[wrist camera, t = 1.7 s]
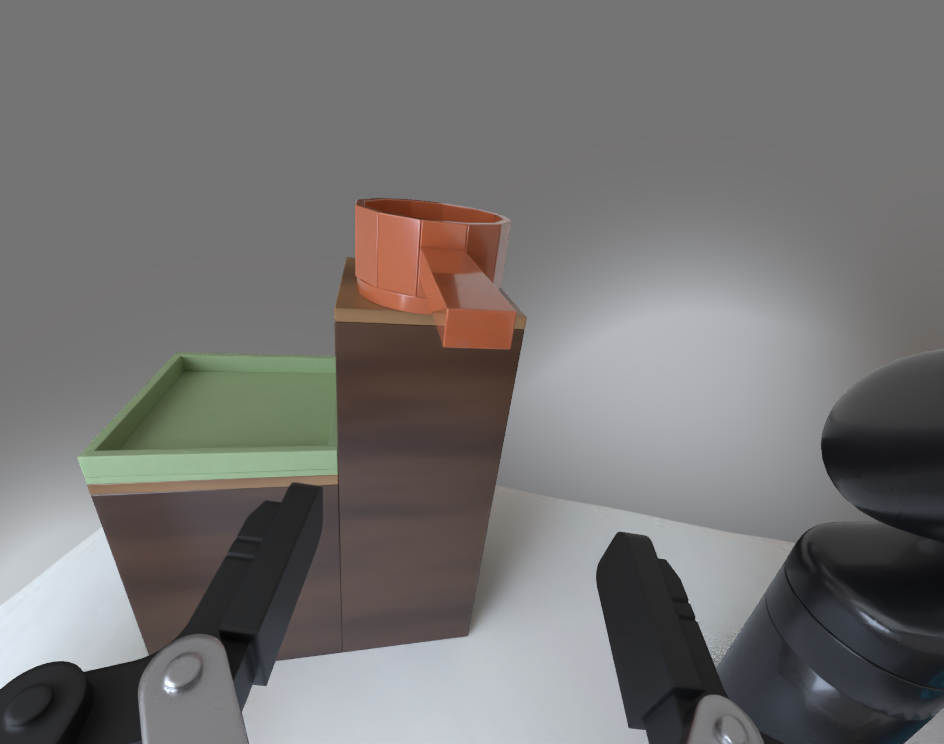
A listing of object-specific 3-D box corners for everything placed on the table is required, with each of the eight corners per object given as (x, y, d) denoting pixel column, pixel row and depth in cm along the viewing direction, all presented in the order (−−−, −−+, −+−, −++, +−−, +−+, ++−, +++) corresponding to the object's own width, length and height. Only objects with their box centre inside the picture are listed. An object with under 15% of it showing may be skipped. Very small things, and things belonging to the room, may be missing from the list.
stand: (467, 636, 39) (527, 317, 26) (155, 676, 34) (16, 292, 20) (445, 520, 52) (478, 261, 38) (213, 535, 46) (152, 236, 32)
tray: (338, 475, 28) (337, 450, 27) (86, 484, 25) (76, 457, 24) (348, 375, 40) (348, 356, 39) (180, 373, 37) (175, 352, 36)
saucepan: (582, 406, 17) (617, 280, 14) (341, 407, 15) (338, 259, 12) (480, 277, 33) (489, 208, 30) (358, 268, 31) (358, 193, 28)
